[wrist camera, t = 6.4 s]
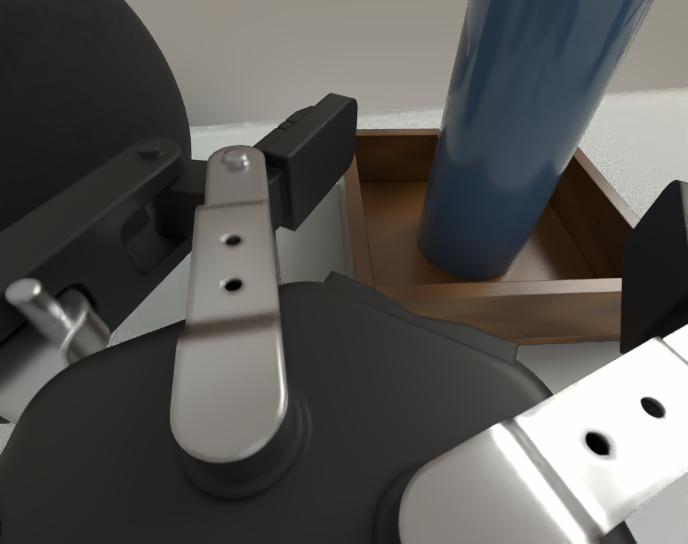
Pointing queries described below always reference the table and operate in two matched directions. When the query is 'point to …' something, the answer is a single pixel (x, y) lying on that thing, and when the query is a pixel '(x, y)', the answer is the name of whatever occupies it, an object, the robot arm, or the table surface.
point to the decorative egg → (77, 97)
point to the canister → (516, 122)
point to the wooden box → (502, 291)
